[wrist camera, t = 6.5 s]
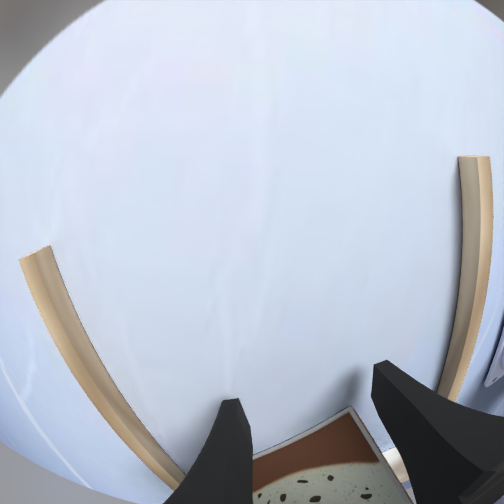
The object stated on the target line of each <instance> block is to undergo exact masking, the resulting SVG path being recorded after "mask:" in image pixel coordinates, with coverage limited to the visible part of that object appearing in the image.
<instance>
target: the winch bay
mask: <svg viewBox="0 0 504 504" xmlns="http://www.w3.org/2000/svg"><path fill="white" fill-rule="evenodd" d="M458 160H459V168H460V178H461V190H462V210H463V244H462V264H461V277H460V287H459V295H458V303H457V309H456V316H455V321H454V327H453V332H452V337H451V342H450V346H449V351H448V355H447V359H446V363H445V366H444V370H443V374H442V377H441V380H440V384H439V387H438V390H437V393H438V394H439V395H441V396H443V397H445V398H447V399H449V400H451V401H453V402H456V399H457V397H458V394H459V392H460V389H461V386H462V384H463V381H464V378H465V376H466V373H467V370H468V367H469V364H470V360H471V357H472V354H473V351H474V347H475V344H476V340H477V336H478V332H479V328H480V324H481V319H482V315H483V310H484V305H485V299H486V293H487V287H488V280H489V273H490V264H491V253H492V237H493V190H492V174H491V164H490V157H488V156H458ZM19 263H20V266H21V268H22V271H23V274H24V277H25V279H26V282H27V285H28V287H29V290H30V292H31V294H32V297H33V299H34V302H35V304H36V306H37V308H38V311H39V313H40V315H41V317H42V319H43V321H44V323H45V325H46V327H47V329H48V331H49V333H50V335H51V337H52V339H53V341H54V343H55V345H56V346H57V348H58V350H59V352H60V353H61V355H62V357H63V359H64V360H65V362H66V364H67V365H68V367H69V369H70V370H71V372H72V373H73V375H74V377H75V378H76V380H77V381H78V383H79V384H80V386H81V387H82V389H83V390H84V392H85V393H86V394H87V396H88V397H89V399H90V400H91V401H92V403H93V404H94V406H95V407H96V408H97V410H98V411H99V412H100V414H101V415H102V416H103V417H104V419H105V420H106V421H107V422H108V424H109V425H110V426H111V427H112V429H113V430H114V431H115V432H116V433H117V434H118V436H119V437H120V438H121V439H122V440H123V441H124V442H125V444H126V445H127V446H128V447H129V448H130V449H131V450H132V451H133V452H134V453H135V454H136V455H137V456H138V458H139V459H140V460H141V461H142V462H143V463H144V464H145V465H146V466H147V467H148V468H149V469H151V470H152V471H153V472H154V473H155V474H156V475H157V476H158V477H159V478H160V479H161V480H162V481H163V482H165V483H166V484H167V485H168V486H169V487H170V488H171V489H173V490H174V491H175V490H176V489H177V487H178V486H179V485H180V484H181V482H182V481H183V480H184V478H185V477H186V475H185V474H184V473H183V472H182V470H181V469H180V468H179V467H178V466H177V465H176V464H175V463H174V462H173V461H172V460H171V458H170V457H169V456H168V455H167V454H166V453H165V452H164V450H163V449H162V448H161V447H160V446H159V445H158V443H157V442H156V441H155V440H154V438H153V437H152V436H151V435H150V433H149V432H148V431H147V430H146V428H145V427H144V426H143V424H142V423H141V422H140V420H139V419H138V418H137V416H136V415H135V413H134V412H133V411H132V409H131V408H130V406H129V405H128V404H127V402H126V401H125V399H124V398H123V396H122V395H121V393H120V392H119V390H118V389H117V387H116V385H115V384H114V382H113V381H112V379H111V377H110V376H109V374H108V372H107V371H106V369H105V367H104V366H103V364H102V362H101V360H100V359H99V357H98V355H97V353H96V351H95V350H94V348H93V346H92V344H91V342H90V340H89V338H88V336H87V334H86V332H85V330H84V328H83V326H82V324H81V322H80V320H79V318H78V316H77V314H76V311H75V309H74V307H73V305H72V302H71V300H70V298H69V295H68V293H67V290H66V288H65V286H64V283H63V280H62V278H61V275H60V272H59V270H58V267H57V264H56V261H55V258H54V255H53V252H52V249H51V246H50V245H49V246H47V247H44V248H42V249H39V250H36V251H34V252H32V253H30V254H28V255H26V256H25V257H23V258H21V259H19ZM382 454H383V455H384V457H385V458H386V460H387V462H388V463H389V465H390V466H391V468H392V470H393V471H394V473H395V474H396V476H397V478H398V479H399V481H400V482H401V483H403V482H405V481H407V480H410V479H409V476H408V474H407V471H406V468H405V465H404V463H403V460H402V458H401V456H400V454H399V452H398V450H397V448H396V447H394V448H392V449H389V450H387V451H385V452H382Z"/></svg>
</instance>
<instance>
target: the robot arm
mask: <svg viewBox="0 0 504 504" xmlns="http://www.w3.org/2000/svg"><path fill="white" fill-rule="evenodd" d="M503 375H504V328H503V331H502V335H501V338H500V341H499V344H498V348H497V351H496V353H495V356H494V359H493V362H492V365H491V367H490V370H489V372H488V375H487V377H486V380H485V382H484V386H485V387H489V386H490V385H492V384H493V383H494V382H496V381H497V380H498V379H499V378H501V377H502V376H503ZM371 398H372V400H373V403H374V405H375V408H376V410H377V413H378V415H379V417H380V419H381V421H382V423H383V425H384V426H385V428H386V430H387V432H388V434H389V435H390V437H391V439H392V441H393V443H394V444H395V446H396V448H397V450H398V452H399V454H400V456H401V458H402V460H403V463H404V465H405V468H406V471H407V474H408V476H409V479H410V482H411V486H412V489H413V492H414V495H415V499H416V503H417V504H504V417H501V416H495V415H491V414H487V413H483V412H480V411H476V410H473V409H470V408H467V407H465V406H462V405H460V404H458V403H455V402H453V401H451V400H449V399H447V398H445V397H443V396H441V395H439V394H438V393H436V392H434V391H432V390H431V389H429V388H427V387H426V386H424V385H423V384H421V383H420V382H418V381H416V380H415V379H414V378H412V377H411V376H409V375H408V374H406V373H405V372H403V371H402V370H401V369H399V368H398V367H397V366H395V365H394V364H392V363H391V362H390V361H388V360H385V361H382V362H380V363H377V364H374V368H373V381H372V392H371ZM252 482H253V446H252V437H251V430H250V425H249V423H248V420H247V418H246V415H245V413H244V410H243V408H242V405H241V403H240V400H239V398H237V399H230V400H223V402H222V403H221V406H220V409H219V412H218V415H217V417H216V420H215V422H214V425H213V427H212V430H211V432H210V434H209V436H208V438H207V441H206V443H205V445H204V447H203V449H202V451H201V452H200V454H199V456H198V458H197V460H196V461H195V463H194V465H193V466H192V468H191V469H190V471H189V472H188V474H187V475H186V477H185V478H184V480H183V481H182V482H181V484H180V485H179V486H178V487H177V489H176V490H175V491H174V492H173V494H172V495H171V496H170V497H169V498H168V499H167V500H166V501H165V502H164V503H163V504H253V493H252Z"/></svg>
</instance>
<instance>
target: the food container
mask: <svg viewBox="0 0 504 504" xmlns="http://www.w3.org/2000/svg"><path fill="white" fill-rule="evenodd" d="M252 493H253V504H414V503H413V502H412V500H411V498H410V497H409V495H408V494H407V492H406V490H405V489H404V487H403V486H402V484H401V482H400V481H399V479H398V478H397V476H396V474H395V473H394V471H393V470H392V468H391V466H390V465H389V463H388V462H387V460H386V458H385V457H384V455H383V454H382V452H381V451H380V449H379V447H378V446H377V444H376V443H375V441H374V439H373V438H372V436H371V435H370V433H369V431H368V430H367V428H366V427H365V425H364V423H363V422H362V420H361V419H360V417H359V415H358V414H357V412H356V411H355V410H354V409H353V407H352V406H349V407H347V408H346V409H344V410H343V411H341V412H339V413H338V414H336V415H334V416H333V417H331V418H329V419H327V420H326V421H324V422H322V423H320V424H318V425H317V426H315V427H313V428H311V429H309V430H307V431H305V432H303V433H301V434H299V435H297V436H295V437H293V438H291V439H289V440H287V441H285V442H283V443H281V444H279V445H276V446H274V447H272V448H270V449H267V450H265V451H263V452H260V453H258V454H255V455H253V482H252Z"/></svg>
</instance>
